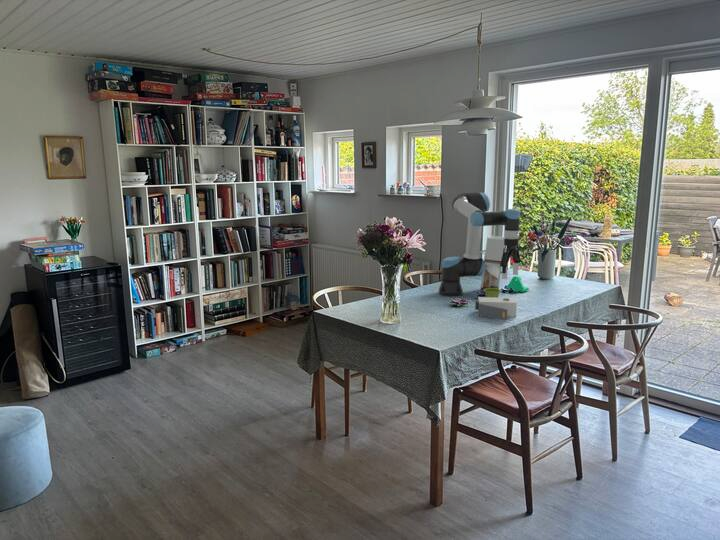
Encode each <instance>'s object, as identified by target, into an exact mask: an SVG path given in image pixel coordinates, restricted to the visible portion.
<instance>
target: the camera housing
mask: <svg viewBox="0 0 720 540" xmlns="http://www.w3.org/2000/svg"><path fill="white" fill-rule="evenodd" d="M479 304H484V305H489V306H494V307H499V308H504V309H508V310H507V316H513V318H515V317H517V306H518V303H517V300H516V298H515V297H498V298H494V297H486V296H483V297H482V296H478V297H477V300H475V305H474V308H475V309H474V310H476V311H477V313H478V314H479ZM514 316H515V317H514ZM479 317H484V316H483V315H480V316H479Z"/></svg>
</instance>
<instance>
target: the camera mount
mask: <svg viewBox="0 0 720 540" xmlns="http://www.w3.org/2000/svg"><path fill="white" fill-rule="evenodd" d="M507 288H512V289H514V290H515V291H517V292H516V293H520V292H521V293H522V292H527V291H529V290H530V287H528V286H524V285H523V283H522V277H521V276H520V275H514V276H513V277H511V280H510V281H509V282H508V284H507V286H506V289H507ZM515 291H514V292H515ZM519 291H520V292H519Z"/></svg>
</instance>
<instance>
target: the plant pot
mask: <svg viewBox="0 0 720 540" xmlns="http://www.w3.org/2000/svg"><path fill="white" fill-rule="evenodd" d="M484 291H485V292H484V293H485V297H494V298H499V297H500V296H499V295H500V293H501V290H500V288H499V289H494V288H486V289H484Z"/></svg>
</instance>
